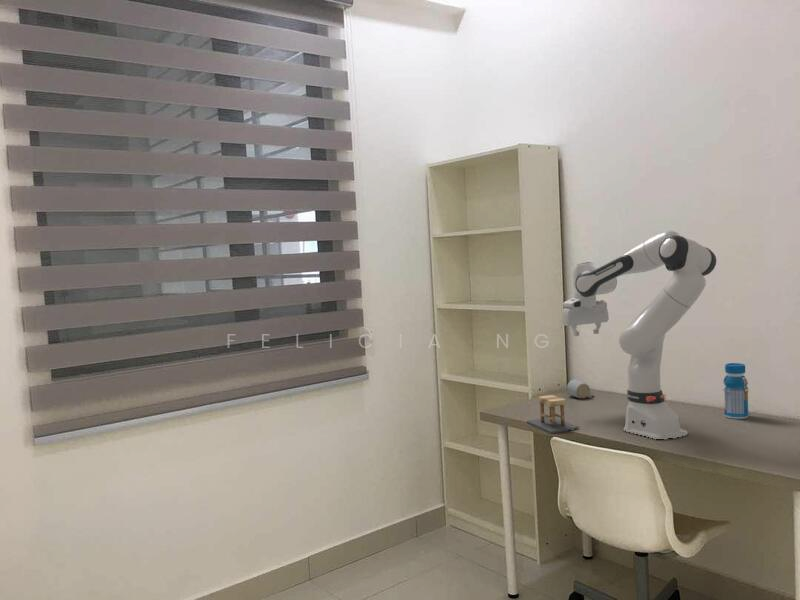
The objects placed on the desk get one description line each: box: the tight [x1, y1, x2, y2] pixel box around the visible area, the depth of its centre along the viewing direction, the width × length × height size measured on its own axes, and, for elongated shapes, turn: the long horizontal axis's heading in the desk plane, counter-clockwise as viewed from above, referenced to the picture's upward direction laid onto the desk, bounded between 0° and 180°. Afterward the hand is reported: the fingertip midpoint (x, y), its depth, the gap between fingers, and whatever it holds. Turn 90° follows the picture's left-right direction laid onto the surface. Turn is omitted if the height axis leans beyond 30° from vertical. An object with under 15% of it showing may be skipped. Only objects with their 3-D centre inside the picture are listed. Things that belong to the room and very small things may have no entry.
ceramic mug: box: [566, 378, 594, 399], centre depth 290 cm, size 11×8×8 cm
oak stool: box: [537, 394, 567, 427], centre depth 246 cm, size 10×6×10 cm, turn 18°
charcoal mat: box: [526, 416, 580, 435], centre depth 246 cm, size 18×12×1 cm, turn 18°
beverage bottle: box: [722, 362, 750, 420], centre depth 243 cm, size 8×8×20 cm
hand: (586, 334), depth 267 cm, fingers open, 8 cm apart
